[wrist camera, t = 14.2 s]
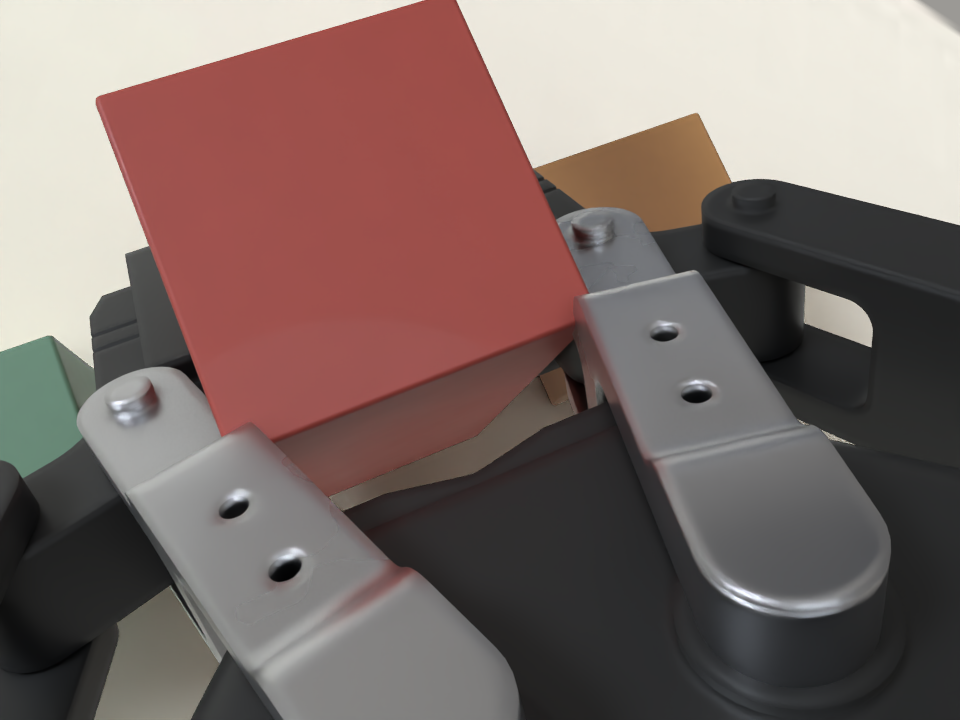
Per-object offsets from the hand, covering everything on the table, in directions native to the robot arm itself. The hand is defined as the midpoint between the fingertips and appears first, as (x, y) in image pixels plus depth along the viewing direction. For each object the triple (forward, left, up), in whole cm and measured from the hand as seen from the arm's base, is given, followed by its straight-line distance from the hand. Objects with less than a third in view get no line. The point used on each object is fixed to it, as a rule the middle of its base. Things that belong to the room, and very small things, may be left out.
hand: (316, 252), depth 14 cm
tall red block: (0, -1, -4) cm, 4 cm away
